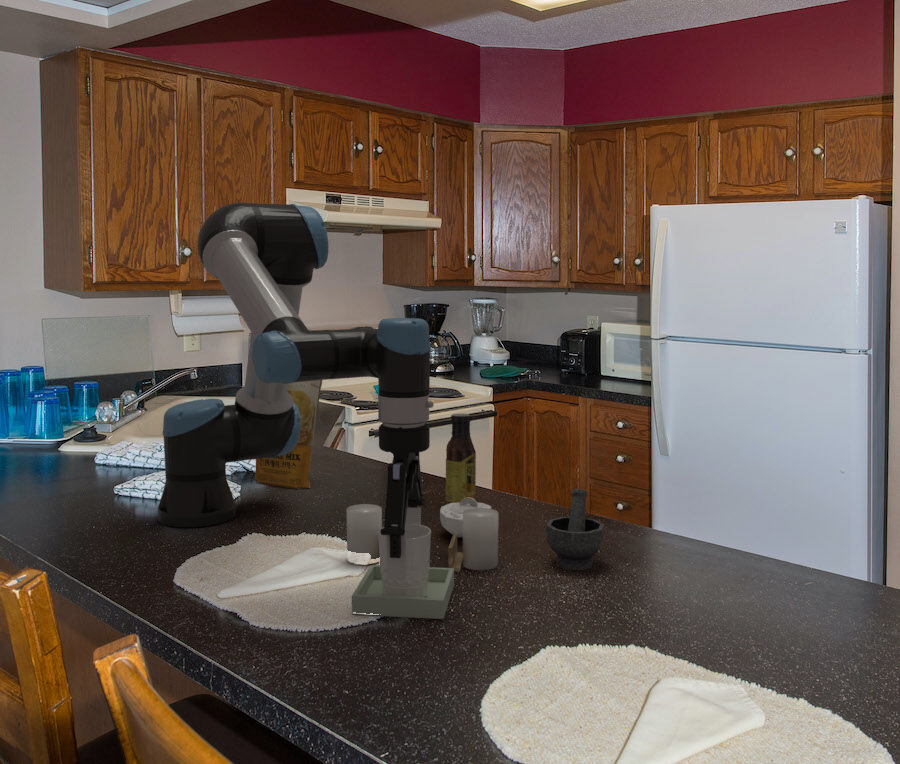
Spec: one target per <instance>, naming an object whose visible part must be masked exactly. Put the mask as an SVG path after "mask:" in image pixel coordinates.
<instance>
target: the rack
mask: <svg viewBox="0 0 900 764" xmlns="http://www.w3.org/2000/svg"><path fill="white" fill-rule="evenodd" d="M447 549H448V551H447V554H448V556H447V559H448V561H447V563H448V567H447V568H454V572H457V573H460V571H461V569H462V566H463V551H462V552H461V551H460V552H459V551H458V537H457V533H454V534H453V535H452V537H451V539H450V542H449V545H448V548H447Z"/></svg>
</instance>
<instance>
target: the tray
mask: <svg viewBox="0 0 900 764" xmlns="http://www.w3.org/2000/svg"><path fill="white" fill-rule="evenodd" d="M454 587H455V571H454V568H448V567H435V566H434V567H433V566H432V567H431V566H429V576H428V585H427V596H426V597H425V598H422V597H400V596H383V584H382V578H381V569H380V565H378V564H373V565H369V568H368V569H367V570H366V572H365V574H364V576H363V577H362V579H361V580H360V582H359V584H357V586H356V588H355V590H354V592H353V593H352V595H351V613H352V612H356V613H366V614H370V613H373V614H379V615H380V614H381V615H380V616H379V617H393V618H394V617H395V618H411V619H412V618H416V619H436V620H444V619H445V616H446V614H447V613H446V612H447V609H448V607H449V603H450V600H451V597H452V593H453V590H454Z"/></svg>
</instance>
